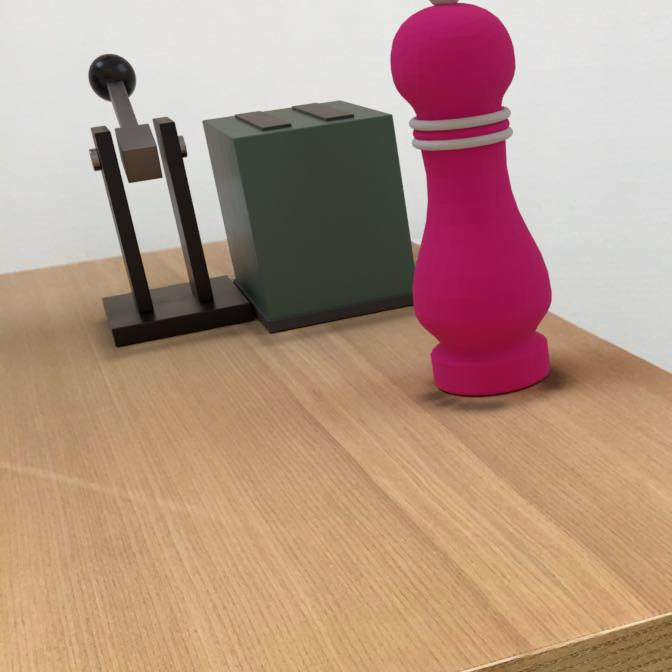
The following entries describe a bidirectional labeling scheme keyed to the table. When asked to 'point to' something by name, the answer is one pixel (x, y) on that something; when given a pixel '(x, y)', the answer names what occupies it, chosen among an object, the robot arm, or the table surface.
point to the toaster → (313, 211)
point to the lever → (126, 117)
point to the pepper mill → (470, 204)
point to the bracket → (201, 291)
